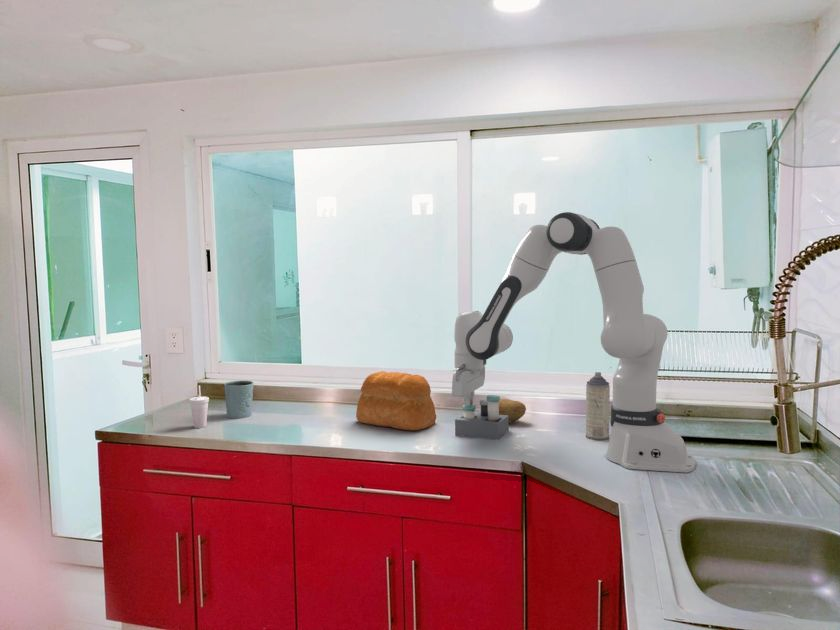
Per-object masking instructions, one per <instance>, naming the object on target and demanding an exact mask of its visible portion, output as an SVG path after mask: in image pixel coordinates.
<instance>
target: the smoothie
mask: <svg viewBox="0 0 840 630" xmlns="http://www.w3.org/2000/svg"><path fill="white" fill-rule="evenodd" d="M201 395H202V393H201V385H198V396H193V397H191V398H189V400H188V403H189V404H190V405H189V406H190V410H191V415H192V421H193V426H194V428H195V429H203V428H205V427H207V420H208V411H209V407H208V406H209V402H210V398H209V397H208V396H201Z"/></svg>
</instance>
